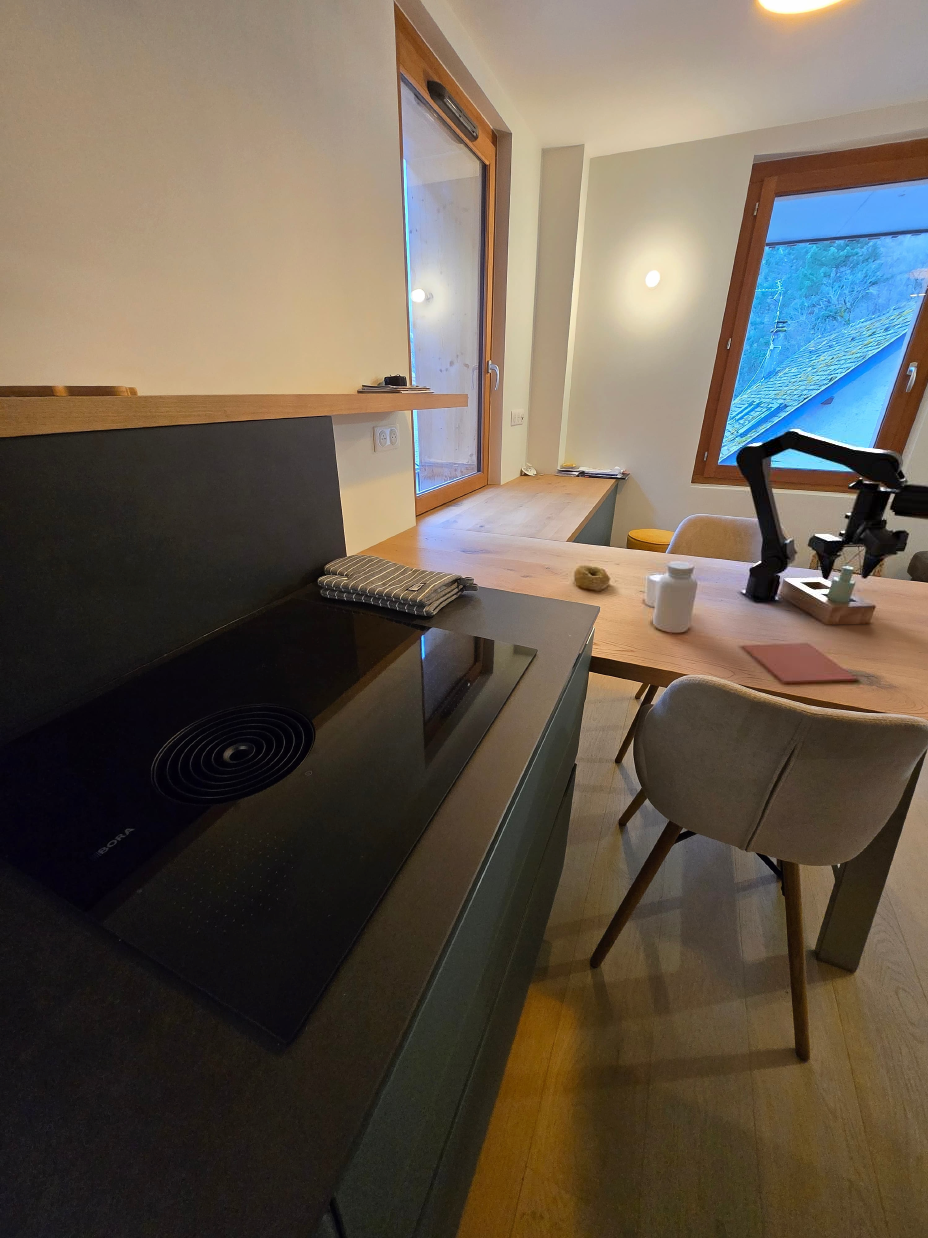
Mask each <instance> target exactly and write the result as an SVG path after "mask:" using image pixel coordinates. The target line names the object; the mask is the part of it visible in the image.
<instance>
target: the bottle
mask: <svg viewBox="0 0 928 1238" xmlns="http://www.w3.org/2000/svg"><path fill="white" fill-rule="evenodd" d="M854 571H855V567H853V566H849V565H845V566H844V565H843V566H842V568H841V571H840V574H839V576H834V577H833V578H832V579H831V586H830V589H829V592H828V595H827V598H828V599H830V600H832V601H834V602H849V601H850V598H851V595H852V594H853V592H854V589H855V587H856V584H857V581H856V580H855V579H853V578H852V577H853V575H854Z"/></svg>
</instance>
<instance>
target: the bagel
mask: <svg viewBox="0 0 928 1238" xmlns="http://www.w3.org/2000/svg"><path fill="white" fill-rule="evenodd" d="M573 579H574V583H575V582H576V583H575V585H576V586H577V587H580V588H581V589H586V590H591V591H592V590H593V591H597V592H599V591H602V590H604V589H606V588H607V587H608V586H609V583H610V581H611V577H610V576H609V575H608V573H607V571H606V570H605V569H604V568H602V567H599V566H592V565H588V564H587V565H586V564H584V565H583V564H582V565H579V566H578V567H577V568H576V569H575V570H574V573H573Z"/></svg>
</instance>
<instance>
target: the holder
mask: <svg viewBox="0 0 928 1238" xmlns="http://www.w3.org/2000/svg"><path fill="white" fill-rule="evenodd" d="M831 583H832V581H829V580H825V579H823V577H803V578H802V577H799V578H783V580H782V583H781V588H780V590H779V594H778V596H780V597H782V598H784V599H785V600H787V601H788V602H789V603H791V604H793V605H795V606H796V607H798V608H800V609H801V610H802V611H804V612H806V613H808V614H809V615H811V616H812V617H814V618H815V619H817V620H819V621H820V622H821V623H823V624H825V625H828V626H829V625H830V626H831V625H854V624H855V625H857V624H859V625H860V624H861V625H862V624H871V621H872V618H873V616H874V613H875V610H876V608H877V605H876V604H874V603H872V602H870V601H868V600H866V599H864V598H862V597H860V596H858V595H856V594H854V593H852V595H851V598H850V601H849V602H834V601H832V600H830V599H828V598H827V595H828V592H829V589H830V586H831Z"/></svg>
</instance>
